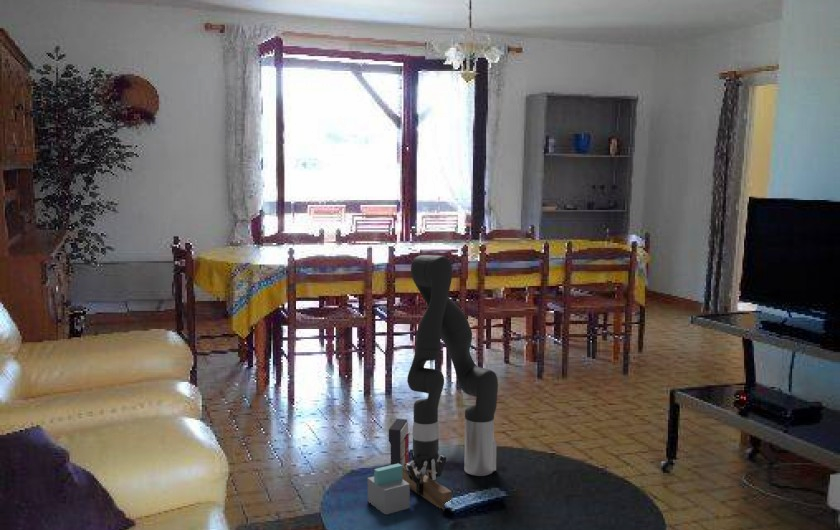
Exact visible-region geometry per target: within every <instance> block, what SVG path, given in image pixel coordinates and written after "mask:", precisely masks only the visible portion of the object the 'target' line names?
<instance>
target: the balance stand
mask: <svg viewBox="0 0 840 530" xmlns="http://www.w3.org/2000/svg"><path fill="white" fill-rule="evenodd" d="M373 471H374V473H373V476H369V477H367V502H368V503H369V504H370V503H371V504H370V505H372V507H374V506H375V507H376V509H377V510H378V511H379V510H380V511H379V512H381V513H382V514H383V513H384V514H386V515H389V514H394V513H396V512H397V513H398V512H401V511H403V510H408V509H410V508H411V507H410V506H411V504H410V503H411V499H410V497H411V495H410V494H411V491H410V490H411V489H410V484H409V483H407V482H406V481H404V480H403V479H402V465H401V464H399V463H398V464H394V465H391V464H390V465H386V466H381V467H376V468H374V469H373ZM375 507H374V508H375ZM384 514H383V515H384Z"/></svg>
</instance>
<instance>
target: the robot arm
mask: <svg viewBox="0 0 840 530" xmlns="http://www.w3.org/2000/svg"><path fill="white" fill-rule="evenodd" d="M410 274H411V277H412V280H413V283H414V285H415V286H416V288H417V289H418V291H419V293H420V295H421V297H422V298H423V300H424V302H425V303H426V305H427V309H426V311H425V313H424V314H423V316H422V318H421V319H420V322H419V324H418V326H417V330H416V337H415V339H416V342H415V352H414V356H413V360H412V362H411V365H410V368H409V371H408V375H407V386H408V388H409V390H411V391H414V392H418V393H424V394H427V395H428V396H427V398H421V399H417V400H415V402H414V404H413V423H412V453H413V455H412V458H411V460H410V461H409V463H405V464H404V466H405V469H406V471H407V473H408V476H409V478H410V480H412V481H414V482H415V483H416V491H417V493H416V494H418V495H419V496H421V495H423V478H424V476H425V475H426V473H427V476H428V477H429V478H431V479H433V480H434V481H436V479H437V478H438V477H439V478H440V477H441V475H442V473H443V470H444V467H445V465H446V462H447V457H446V456H444V455H443V454H439V448H440V447H439V441H440V439H439V434H440V433H439V431H440V430H439V429H440V428H439V403H440V400H441V395H442V392H443V389H444V385H445V377H444V374H443V373H442V371H441V370H440V369H436V368H428V367H425V365H426V363H427V362H431V361H436V360H438V359H439V358H440V354H441V339H442V341H443V343H444V346H445V347H446V350H447V352H448V355H449V357H450V359H451V362H452V365H453V368H454V370H455V374H456V377H457V382H458V384H459V387H460V389H461V390H462V392H463V393H465V394H466V395H469V396H471V397H475V398H476V399H475V405H474V404H473V405H469V406H467V407H466V408H465V410H464V460H463V461H464V465H463V466H464V467H463V469H464V472H465V473H466V474H468V475H471V476H476V477H485V476H488V475H491V474H492V473H494V472H495V471H497V441H496V440H495V437H494V436H495V414H496V411H497V407H498V406H497V404H498V388H499V381H498V376H497V374H496V373H495V371H494V370H492V369H488V368H485V367H479V366H477V365H476V364H475V362H474V361H475V360H473V358H472V355H471V352H470V351H471V350H470V349H471V345H472V341H473V331H472V328H471V325H470V323H469V321H468V318H467V316H466V314H465V312H463V310H462V309H461V308H460V307H459V306H458V305H457V304H456V302H454V300H452V299H451V298H450V297H449V294H450V289H451V285H452V279H453V265H452V262H451V260H450V258H448V257H447V256H444V255H432V254H431V255H430V254H429V255H428V254H422V255H418V256H416V257H415V258H413V260H412V262H411V265H410ZM414 468H415V469H416V470H415V472H416V474H415V472H414Z"/></svg>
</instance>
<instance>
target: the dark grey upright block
mask: <svg viewBox="0 0 840 530" xmlns="http://www.w3.org/2000/svg"><path fill="white" fill-rule="evenodd" d="M409 438H410V437H409V421H408V419H405V418H396V419H395V421H394V422H393V423H392V425H391V426H390V427H389V429H388V442H389V444H390V465H394V464H398V463H399V464H401V465H402V467H405V466H404V464H405V463H409V462H410V460H409V458H410V457H409V456H410V454H409V453H410V452H409V451H410V446H409V444H410V441H409V440H410V439H409Z"/></svg>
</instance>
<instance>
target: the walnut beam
mask: <svg viewBox="0 0 840 530" xmlns="http://www.w3.org/2000/svg"><path fill="white" fill-rule="evenodd" d="M415 470H416V467H414V472H415ZM415 474H416V472H415ZM402 479H403V480H404V481H406V482H407V483H409V484H410V490H412V491H413V492H415V493H416V494H418V493H417V491H416V483H415V482H414V481H412V480H410V478H409V476H408V473H407V471H406V469H405V467H402ZM452 493H453V492H452V490H450V489H449V488H447V487H446V486H444V485H442V484H440V483H439V482H437V481H436V480H435V481H434V480H433V479H431V478H429V477H428V475H426V474H425V476H424V478H423V495H420V497H422V498H424V499H425V500H427V502H430V503H431V504H432V505H434V506H436V507H437V508H438V507H439V509H440V508H442V509H443V507H444V504H445V503H446V502H448V501H450V500H451V501H452Z"/></svg>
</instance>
